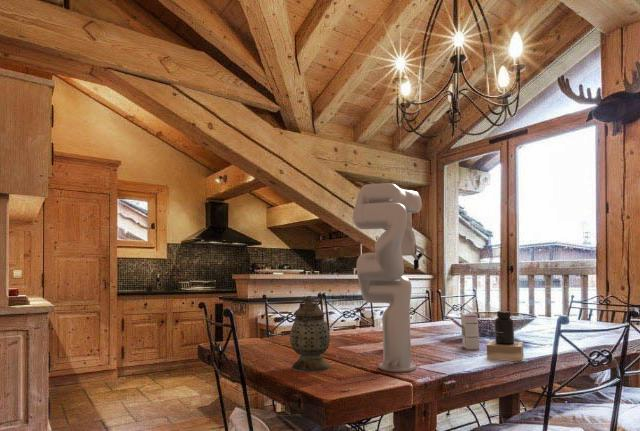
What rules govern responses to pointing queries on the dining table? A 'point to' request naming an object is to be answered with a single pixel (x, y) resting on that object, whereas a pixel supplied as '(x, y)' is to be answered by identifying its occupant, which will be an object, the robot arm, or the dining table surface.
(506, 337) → the supplement bottle
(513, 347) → the plinth
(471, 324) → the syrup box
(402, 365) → the robot arm
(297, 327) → the lantern
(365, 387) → the dining table surface
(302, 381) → the dining table surface
